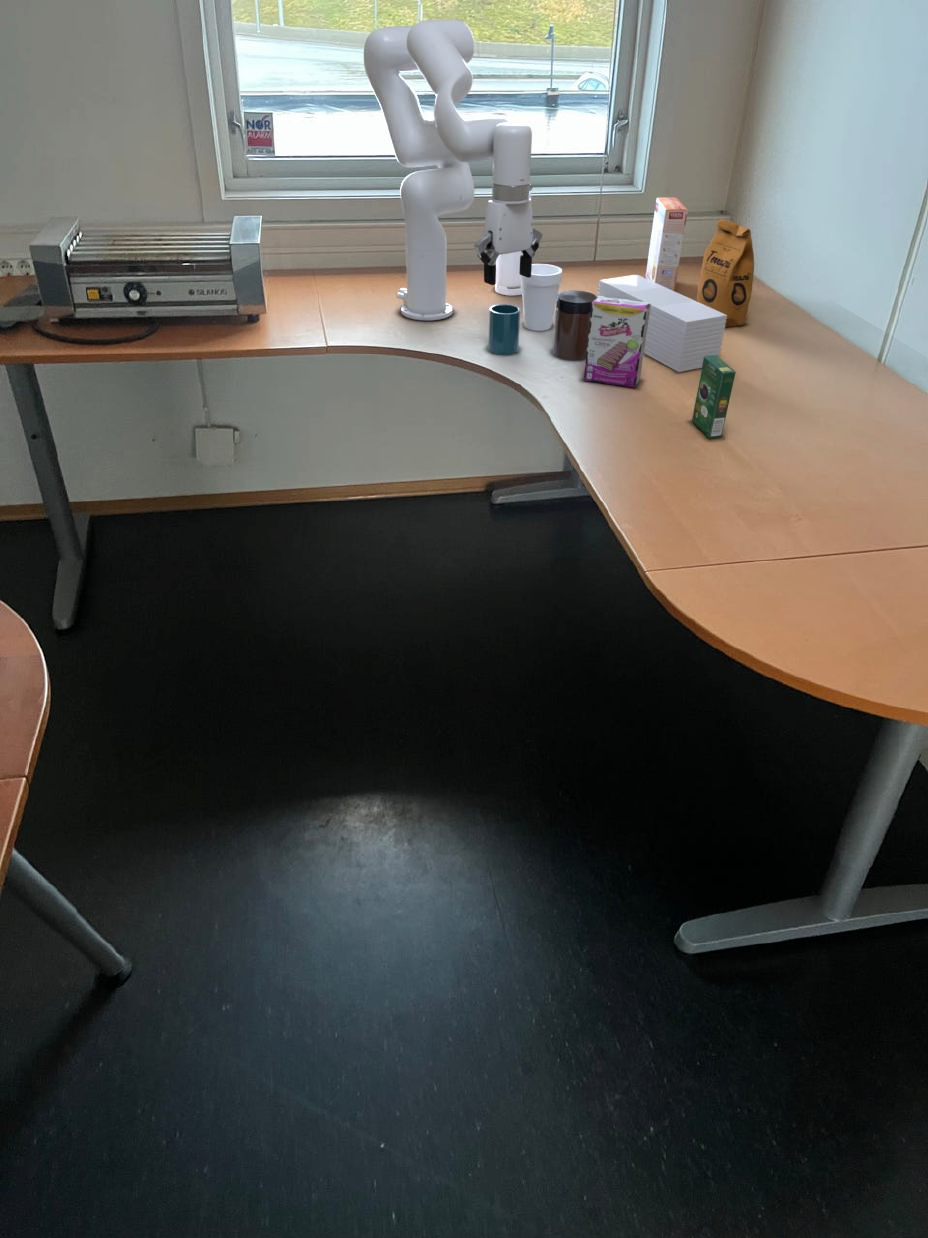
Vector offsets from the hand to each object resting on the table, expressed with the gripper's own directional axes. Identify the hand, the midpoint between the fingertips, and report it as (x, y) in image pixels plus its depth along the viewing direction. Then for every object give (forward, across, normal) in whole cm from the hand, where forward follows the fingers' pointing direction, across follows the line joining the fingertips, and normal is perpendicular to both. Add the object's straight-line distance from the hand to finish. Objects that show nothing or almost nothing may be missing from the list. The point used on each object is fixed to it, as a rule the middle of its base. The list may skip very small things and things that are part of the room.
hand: (507, 279), depth 195 cm
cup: (+15, 0, -1) cm, 15 cm away
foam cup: (+15, -17, -8) cm, 24 cm away
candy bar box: (+16, -7, +26) cm, 32 cm away
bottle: (+15, -29, -33) cm, 46 cm away
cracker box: (+15, -64, -14) cm, 67 cm away
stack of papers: (+16, -30, +16) cm, 38 cm away
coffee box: (+16, -5, +54) cm, 56 cm away
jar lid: (+4, -11, +10) cm, 15 cm away
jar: (+16, -11, +10) cm, 21 cm away
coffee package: (+16, -56, +13) cm, 60 cm away
